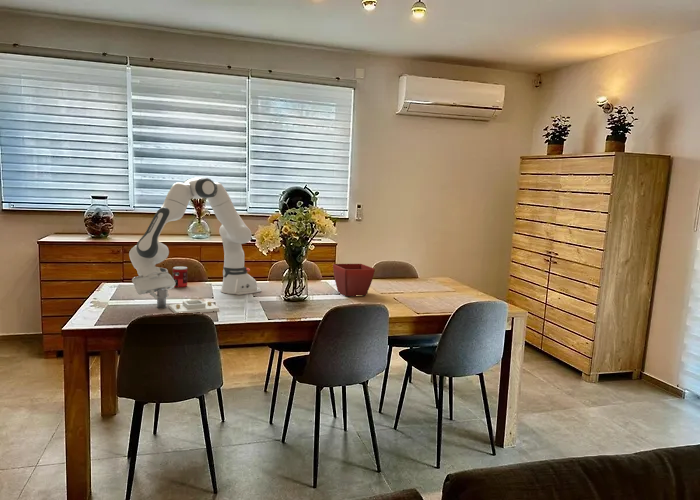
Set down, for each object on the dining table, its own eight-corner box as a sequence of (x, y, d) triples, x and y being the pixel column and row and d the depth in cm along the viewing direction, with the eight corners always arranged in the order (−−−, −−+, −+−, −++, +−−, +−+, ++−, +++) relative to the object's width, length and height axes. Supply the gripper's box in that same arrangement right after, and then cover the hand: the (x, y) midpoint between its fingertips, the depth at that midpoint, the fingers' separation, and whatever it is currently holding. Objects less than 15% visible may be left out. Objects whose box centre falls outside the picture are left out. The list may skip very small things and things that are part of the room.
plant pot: (359, 290, 303) (361, 263, 300) (373, 297, 286) (375, 268, 283) (330, 291, 294) (332, 263, 292) (344, 298, 277) (345, 269, 275)
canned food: (171, 285, 285) (171, 266, 284) (185, 284, 289) (185, 266, 288) (174, 288, 279) (174, 268, 277) (188, 287, 283) (188, 268, 281)
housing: (209, 304, 249) (210, 297, 248) (219, 310, 237) (219, 303, 237) (169, 307, 238) (169, 300, 237) (176, 315, 226) (176, 307, 226)
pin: (164, 305, 240) (165, 287, 239) (166, 307, 237) (167, 289, 236) (156, 306, 238) (156, 288, 237) (158, 308, 235) (158, 290, 234)
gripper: (133, 273, 230) (146, 297, 226) (169, 268, 247) (182, 290, 244) (127, 281, 233) (140, 305, 229) (163, 275, 250) (176, 297, 247)
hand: (162, 297), depth 237 cm, fingers closed on pin, 4 cm apart
